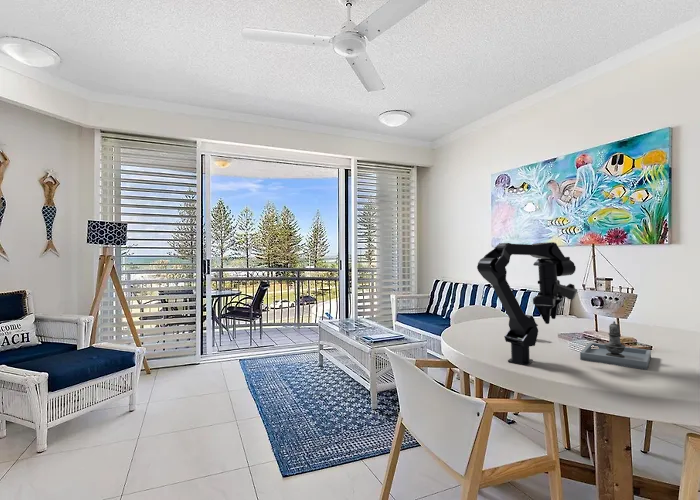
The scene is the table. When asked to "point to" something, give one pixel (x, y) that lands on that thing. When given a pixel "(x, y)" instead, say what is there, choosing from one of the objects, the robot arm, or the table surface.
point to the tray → (631, 359)
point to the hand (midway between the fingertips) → (550, 321)
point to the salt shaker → (614, 342)
